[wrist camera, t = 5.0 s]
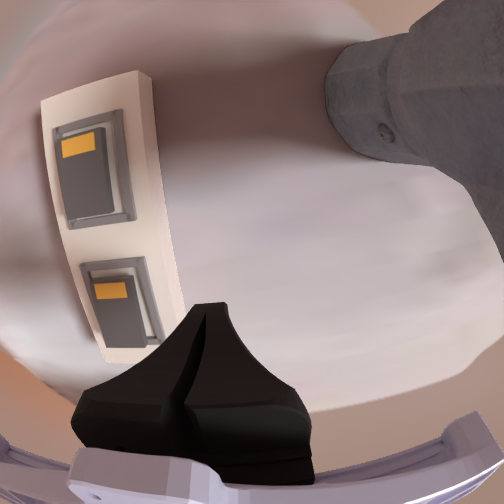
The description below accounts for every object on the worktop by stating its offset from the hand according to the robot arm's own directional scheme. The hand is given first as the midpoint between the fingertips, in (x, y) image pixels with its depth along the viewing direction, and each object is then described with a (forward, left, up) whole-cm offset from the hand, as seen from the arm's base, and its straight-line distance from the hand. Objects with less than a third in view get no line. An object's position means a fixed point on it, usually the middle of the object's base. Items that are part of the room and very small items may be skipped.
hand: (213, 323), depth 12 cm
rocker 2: (-2, +7, -5) cm, 9 cm away
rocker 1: (+7, +7, -5) cm, 11 cm away
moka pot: (+10, -12, -10) cm, 18 cm away
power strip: (+2, +7, -9) cm, 12 cm away
